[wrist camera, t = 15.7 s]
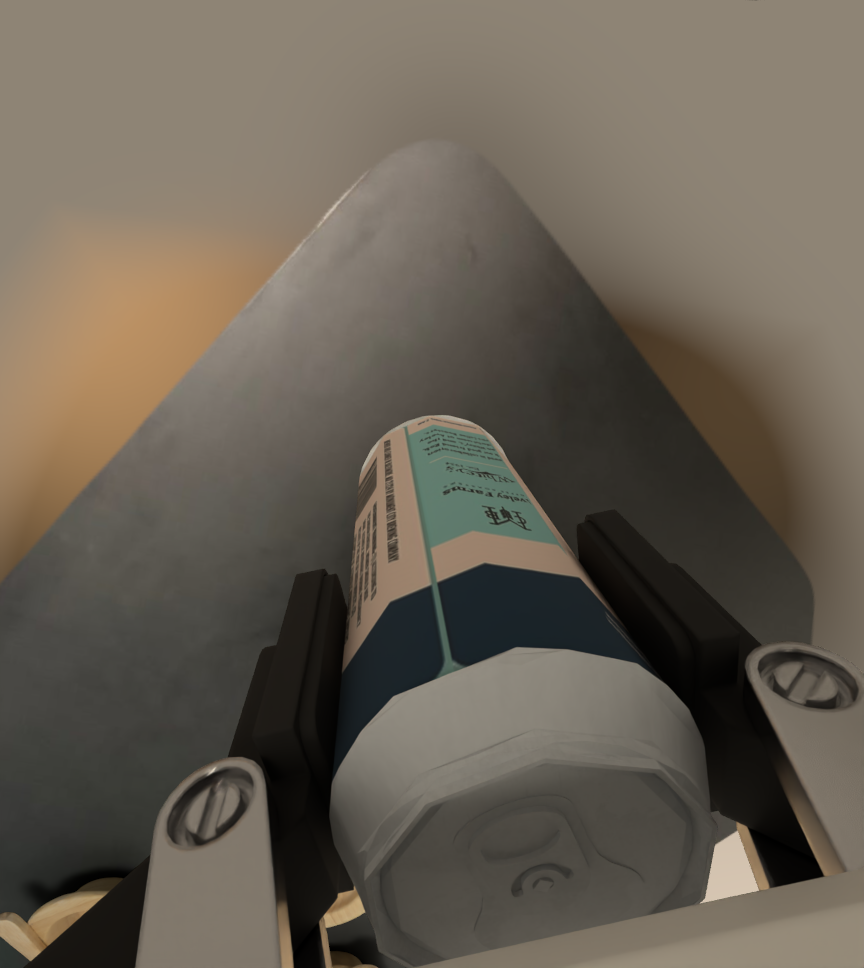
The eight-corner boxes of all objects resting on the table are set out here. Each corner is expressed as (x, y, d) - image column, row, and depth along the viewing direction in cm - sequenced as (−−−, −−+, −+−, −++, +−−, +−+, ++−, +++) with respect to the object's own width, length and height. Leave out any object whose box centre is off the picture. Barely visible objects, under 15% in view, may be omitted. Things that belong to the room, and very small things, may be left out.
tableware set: (104, 1053, 55) (84, 1110, 51) (-26, 876, 44) (-64, 932, 40) (434, 988, 56) (438, 1039, 52) (389, 799, 45) (389, 847, 41)
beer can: (396, 570, 18) (427, 1056, 7) (332, 448, 16) (231, 837, 5) (527, 515, 18) (785, 930, 6) (477, 385, 16) (716, 649, 5)
